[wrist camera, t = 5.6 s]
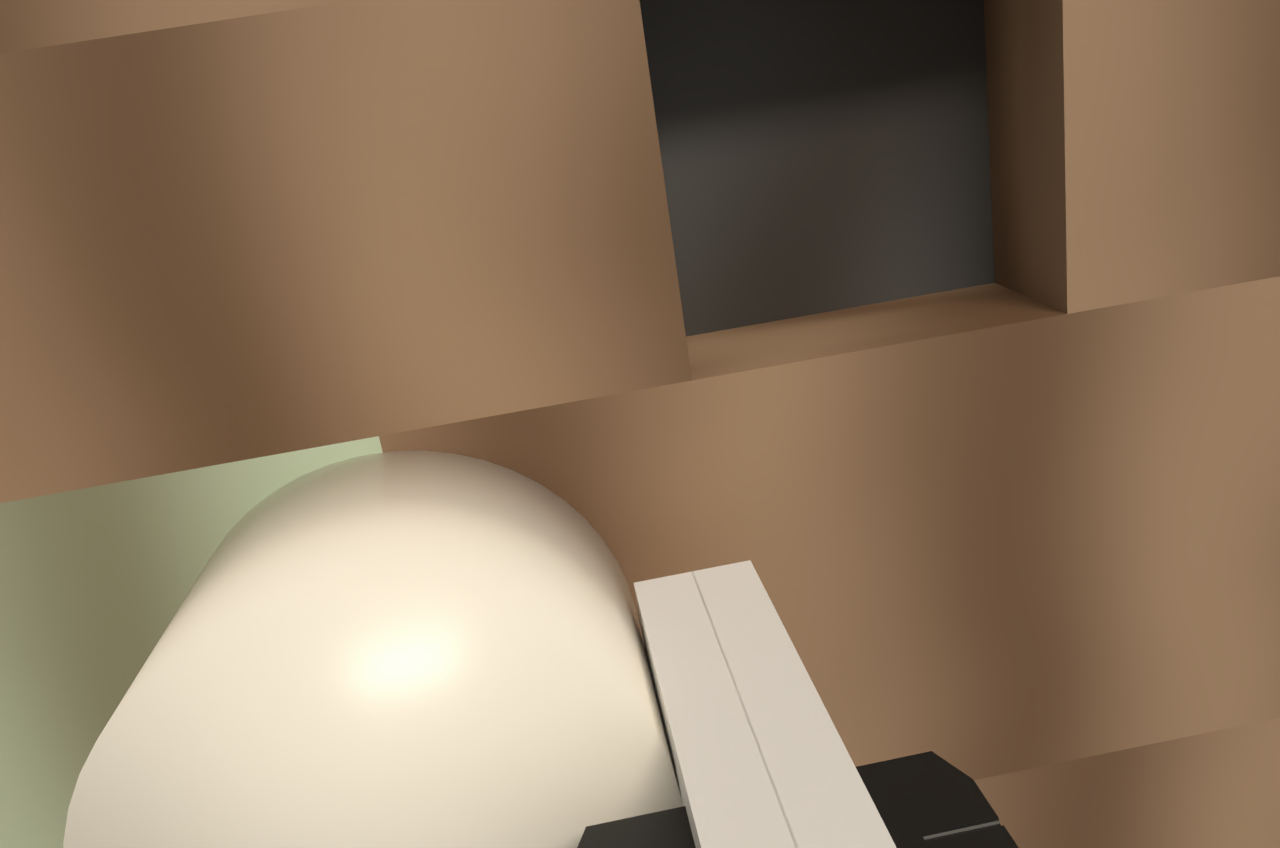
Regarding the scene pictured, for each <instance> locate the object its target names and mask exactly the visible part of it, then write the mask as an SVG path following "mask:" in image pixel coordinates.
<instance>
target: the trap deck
mask: <svg viewBox="0 0 1280 848" xmlns="http://www.w3.org/2000/svg"><path fill="white" fill-rule="evenodd" d="M417 450H423V451H434V452H445V453H454V454H459V455H463V456H468V457H473V458H477V459H482V460H485V461H488V462H491V463H494V464H497V465H500V466H503V467H505V468H508V469H511V470H514V471H516V472H518V473H520V474H522V475H524V476H526V477H528V478H530V479H532V480H534V481H536V482H538V483H540V484H541V485H543V486H544V487H546V488H547V489H549V490H550V491H552V492H553V493H555V494H556V495H558V496H559V497H560V498H562V499H563V500H565V501H566V502H567V503H568V504H569V505H570V506H571V507H573V508H574V509H575V510H576V511H577V512H578V513H579V514H581V515H582V516H583V517H584V518H585V519H586V520H587V521H588V522H589V524H590V525H591V526H592V527H593V528H594V529H595V531H596V532H597V533H598V534H599V535H600V536H601V537H602V539H603V540H604V541H605V543H606V544H607V546H608V548H609V549H610V551H611V552H612V554H613V555H614V557H615V558H616V560H617V562H618V563H619V566H620V568H621V570H622V572H623V574H624V576H625V579H626V581H627V583H628V585H629V588H630V591H631V595H632V598H633V602H634V605H635V609H636V612H637V616H638V620H639V624H640V618H639V612H638V606H637V600H636V594H635V589H634V583H635V582H640V581H645V580H650V579H656V578H661V577H666V576H671V575H676V574H681V573H687V572H692V571H697V570H702V569H707V568H712V567H717V566H723V565H728V564H733V563H738V562H743V561H748V560H751V562H752V564H753V566H754V568H755V570H756V572H757V574H758V576H759V578H760V580H761V582H762V584H763V586H764V588H765V590H766V592H767V594H768V596H769V598H770V600H771V602H772V604H773V606H774V608H775V610H776V612H777V613H778V615H779V617H780V619H781V621H782V623H783V625H784V627H785V629H786V631H787V633H788V635H789V637H790V639H791V641H792V643H793V645H794V647H795V649H796V651H797V653H798V655H799V657H800V659H801V661H802V663H803V665H804V667H805V669H806V671H807V672H808V674H809V676H810V678H811V680H812V682H813V684H814V686H815V688H816V690H817V692H818V694H819V696H820V698H821V700H822V702H823V704H824V706H825V708H826V710H827V712H828V714H829V716H830V718H831V720H832V722H833V724H834V726H835V728H836V730H837V731H838V733H839V735H840V737H841V739H842V741H843V743H844V745H845V747H846V749H847V751H848V753H849V755H850V757H851V759H852V761H853V763H854V765H855V767H857V766H862V765H867V764H872V763H876V762H881V761H886V760H891V759H896V758H900V757H905V756H910V755H915V754H920V753H924V752H929V751H932V752H934V753H935V754H937V755H938V756H940V757H941V758H943V759H944V760H946V761H947V762H948V763H950V764H951V765H953V766H954V767H956V768H957V769H959V770H960V771H962V772H963V773H965V774H966V775H968V776H969V777H970V778H972V779H973V780H974V781H975V783H976V784H977V786H978V787H979V789H980V790H981V792H982V793H983V795H984V796H985V798H986V799H987V801H988V802H989V804H990V805H991V807H992V808H993V810H994V811H995V813H996V814H997V816H998V817H999V822H1000V824H1001V826H1003V825H1004V826H1005V828H1006V829H1007V831H1008V832H1009V834H1010V835H1011V837H1012V838H1013V840H1014V841H1015V843H1016V844H1017V846H1018V847H1019V848H1280V0H0V848H63V841H64V834H65V828H66V821H67V814H68V808H69V805H70V802H71V798H72V795H73V792H74V789H75V786H76V783H77V780H78V777H79V774H80V772H81V770H82V768H83V766H84V764H85V762H86V760H87V758H88V756H89V754H90V752H91V750H92V748H93V746H94V744H95V743H96V741H97V739H98V737H99V736H100V734H101V733H102V731H103V729H104V728H105V726H106V725H107V723H108V721H109V720H110V718H111V717H112V715H113V713H114V712H115V710H116V709H117V707H118V705H119V704H120V702H121V701H122V699H123V697H124V696H125V694H126V692H127V691H128V689H129V688H130V686H131V684H132V683H133V681H134V680H135V678H136V676H137V675H138V673H139V672H140V670H141V668H142V667H143V665H144V664H145V662H146V660H147V659H148V657H149V656H150V654H151V652H152V651H153V649H154V648H155V646H156V644H157V643H158V641H159V639H160V638H161V636H162V635H163V633H164V631H165V630H166V628H167V627H168V625H169V623H170V622H171V620H172V619H173V617H174V615H175V614H176V612H177V611H178V609H179V607H180V606H181V604H182V603H183V601H184V599H185V598H186V596H187V595H188V593H189V591H190V590H191V588H192V587H193V585H194V583H195V582H196V580H197V578H198V577H199V575H200V574H201V572H202V570H203V569H204V567H205V566H206V564H207V562H208V561H209V559H210V558H211V556H212V555H213V553H214V552H215V550H216V549H217V548H218V546H219V545H220V543H221V542H222V541H223V539H224V538H225V537H226V535H227V534H228V532H229V531H230V530H231V529H232V528H233V527H234V526H235V525H236V524H237V523H238V522H239V521H240V520H241V519H242V518H243V517H244V516H245V515H246V514H247V513H248V512H249V511H250V510H251V509H252V508H254V507H255V506H256V505H257V504H259V503H260V502H261V501H262V500H264V499H265V498H266V497H268V496H269V495H270V494H271V493H273V492H274V491H276V490H278V489H279V488H281V487H283V486H285V485H286V484H288V483H290V482H291V481H293V480H295V479H297V478H298V477H300V476H303V475H305V474H307V473H310V472H312V471H314V470H317V469H319V468H321V467H324V466H326V465H329V464H332V463H336V462H339V461H343V460H346V459H350V458H354V457H357V456H362V455H369V454H376V453H382V452H389V451H417ZM640 629H641V624H640ZM641 633H642V630H641ZM642 637H643V635H642Z"/></svg>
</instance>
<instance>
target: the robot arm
mask: <svg viewBox="0 0 1280 848" xmlns="http://www.w3.org/2000/svg"><path fill="white" fill-rule="evenodd" d="M634 589H635V594H636V600H637V606H638V612H639V618H640V624H641V630H642V635H643V641H644V647H645V651H646V655H647V659H648V663H649V667H650V671H651V675H652V680H653V684H654V688H655V692H656V696H657V700H658V704H659V708H660V712H661V716H662V721H663V725H664V729H665V733H666V737H667V741H668V745H669V749H670V753H671V757H672V762H673V766H674V770H675V774H676V778H677V782H678V786H679V790H680V794H681V799H682V805H683V807H678V808H673V809H668V810H663V811H659V812H654V813H649V814H644V815H639V816H635V817H630V818H625V819H620V820H616V821H611V822H606V823H601V824H596V825H592V826H587V827H586V828H585V830H584V833H583V835H582V837H581V840H580V842H579V844H578V847H577V848H1019V847H1018V846H1017V844H1016V843H1015V841H1014V840H1013V838H1012V837H1011V835H1010V834H1009V832H1008V831H1007V829H1006V828H1005V826H1004V825H1003V826H1001V824H1000V822H999V817H998V816H997V814H996V813H995V811H994V810H993V808H992V807H991V805H990V804H989V802H988V801H987V799H986V798H985V796H984V795H983V793H982V792H981V790H980V789H979V787H978V786H977V784H976V783H975V781H974V780H973V779H972V778H970V777H969V776H968V775H966V774H965V773H963V772H962V771H960V770H959V769H957V768H956V767H954V766H953V765H951V764H950V763H948V762H947V761H946V760H944V759H943V758H941V757H940V756H938V755H937V754H935V753H934V752H932V751H929V752H924V753H920V754H915V755H910V756H905V757H900V758H896V759H891V760H886V761H881V762H876V763H872V764H867V765H862V766H857V767H855V765H854V763H853V761H852V759H851V757H850V755H849V753H848V751H847V749H846V747H845V745H844V743H843V741H842V739H841V737H840V735H839V733H838V731H837V730H836V728H835V726H834V724H833V722H832V720H831V718H830V716H829V714H828V712H827V710H826V708H825V706H824V704H823V702H822V700H821V698H820V696H819V694H818V692H817V690H816V688H815V686H814V684H813V682H812V680H811V678H810V676H809V674H808V672H807V671H806V669H805V667H804V665H803V663H802V661H801V659H800V657H799V655H798V653H797V651H796V649H795V647H794V645H793V643H792V641H791V639H790V637H789V635H788V633H787V631H786V629H785V627H784V625H783V623H782V621H781V619H780V617H779V615H778V613H777V612H776V610H775V608H774V606H773V604H772V602H771V600H770V598H769V596H768V594H767V592H766V590H765V588H764V586H763V584H762V582H761V580H760V578H759V576H758V574H757V572H756V570H755V568H754V566H753V564H752V562H751V560H748V561H743V562H738V563H733V564H728V565H723V566H717V567H712V568H707V569H702V570H697V571H692V572H687V573H681V574H676V575H671V576H666V577H661V578H656V579H650V580H645V581H640V582H635V583H634Z"/></svg>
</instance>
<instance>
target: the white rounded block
mask: <svg viewBox="0 0 1280 848" xmlns="http://www.w3.org/2000/svg"><path fill="white" fill-rule="evenodd" d="M678 807H683V805H682V799H681V794H680V790H679V786H678V782H677V778H676V774H675V770H674V766H673V762H672V757H671V753H670V749H669V745H668V741H667V737H666V733H665V729H664V725H663V721H662V716H661V712H660V708H659V704H658V700H657V696H656V692H655V688H654V684H653V680H652V675H651V671H650V667H649V663H648V659H647V655H646V651H645V647H644V641H643V637H642V633H641V629H640V624H639V620H638V616H637V612H636V609H635V605H634V602H633V598H632V595H631V591H630V588H629V585H628V583H627V581H626V579H625V576H624V574H623V572H622V570H621V568H620V566H619V563H618V562H617V560H616V558H615V557H614V555H613V554H612V552H611V551H610V549H609V548H608V546H607V544H606V543H605V541H604V540H603V539H602V537H601V536H600V535H599V534H598V533H597V532H596V531H595V529H594V528H593V527H592V526H591V525H590V524H589V522H588V521H587V520H586V519H585V518H584V517H583V516H582V515H581V514H579V513H578V512H577V511H576V510H575V509H574V508H573V507H571V506H570V505H569V504H568V503H567V502H566V501H565V500H563V499H562V498H560V497H559V496H558V495H556V494H555V493H553V492H552V491H550V490H549V489H547V488H546V487H544V486H543V485H541V484H540V483H538V482H536V481H534V480H532V479H530V478H528V477H526V476H524V475H522V474H520V473H518V472H516V471H514V470H511V469H508V468H505V467H503V466H500V465H497V464H494V463H491V462H488V461H485V460H482V459H477V458H473V457H468V456H463V455H459V454H454V453H445V452H434V451H423V450H417V451H389V452H382V453H376V454H369V455H362V456H357V457H354V458H350V459H346V460H343V461H339V462H336V463H332V464H329V465H326V466H324V467H321V468H319V469H317V470H314V471H312V472H310V473H307V474H305V475H303V476H300V477H298V478H297V479H295V480H293V481H291V482H290V483H288V484H286V485H285V486H283V487H281V488H279V489H278V490H276V491H274V492H273V493H271V494H270V495H269V496H268V497H266V498H265V499H264V500H262V501H261V502H260V503H259V504H257V505H256V506H255V507H254V508H252V509H251V510H250V511H249V512H248V513H247V514H246V515H245V516H244V517H243V518H242V519H241V520H240V521H239V522H238V523H237V524H236V525H235V526H234V527H233V528H232V529H231V530H230V531H229V532H228V534H227V535H226V537H225V538H224V539H223V541H222V542H221V543H220V545H219V546H218V548H217V549H216V550H215V552H214V553H213V555H212V556H211V558H210V559H209V561H208V562H207V564H206V566H205V567H204V569H203V570H202V572H201V574H200V575H199V577H198V578H197V580H196V582H195V583H194V585H193V587H192V588H191V590H190V591H189V593H188V595H187V596H186V598H185V599H184V601H183V603H182V604H181V606H180V607H179V609H178V611H177V612H176V614H175V615H174V617H173V619H172V620H171V622H170V623H169V625H168V627H167V628H166V630H165V631H164V633H163V635H162V636H161V638H160V639H159V641H158V643H157V644H156V646H155V648H154V649H153V651H152V652H151V654H150V656H149V657H148V659H147V660H146V662H145V664H144V665H143V667H142V668H141V670H140V672H139V673H138V675H137V676H136V678H135V680H134V681H133V683H132V684H131V686H130V688H129V689H128V691H127V692H126V694H125V696H124V697H123V699H122V701H121V702H120V704H119V705H118V707H117V709H116V710H115V712H114V713H113V715H112V717H111V718H110V720H109V721H108V723H107V725H106V726H105V728H104V729H103V731H102V733H101V734H100V736H99V737H98V739H97V741H96V743H95V744H94V746H93V748H92V750H91V752H90V754H89V756H88V758H87V760H86V762H85V764H84V766H83V768H82V770H81V772H80V774H79V777H78V780H77V783H76V786H75V789H74V792H73V795H72V798H71V802H70V805H69V808H68V814H67V821H66V828H65V834H64V841H63V848H577V847H578V844H579V842H580V840H581V837H582V835H583V833H584V830H585V828H586V827H587V826H592V825H596V824H601V823H606V822H611V821H616V820H620V819H625V818H630V817H635V816H639V815H644V814H649V813H654V812H659V811H663V810H668V809H673V808H678Z"/></svg>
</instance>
